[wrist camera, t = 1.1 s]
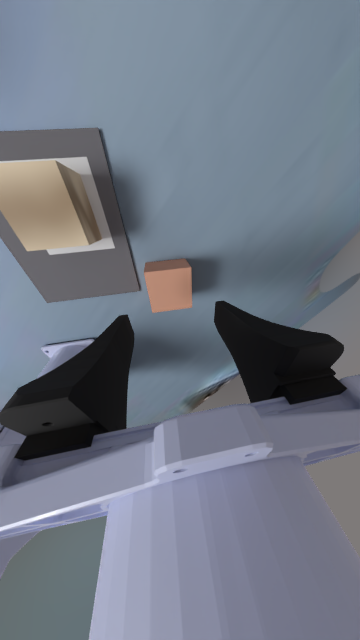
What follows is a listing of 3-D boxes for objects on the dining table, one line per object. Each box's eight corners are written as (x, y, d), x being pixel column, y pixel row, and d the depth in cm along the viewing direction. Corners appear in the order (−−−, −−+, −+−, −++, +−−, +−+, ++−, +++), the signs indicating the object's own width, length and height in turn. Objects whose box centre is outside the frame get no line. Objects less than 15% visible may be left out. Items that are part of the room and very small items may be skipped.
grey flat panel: (139, 290, 20) (139, 291, 20) (48, 302, 19) (46, 303, 19) (98, 128, 11) (97, 127, 11) (-71, 135, 10) (-75, 133, 10)
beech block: (102, 239, 16) (89, 245, 12) (53, 243, 15) (27, 251, 12) (79, 174, 13) (54, 160, 9) (18, 178, 12) (-30, 164, 9)
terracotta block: (186, 293, 21) (192, 307, 18) (152, 297, 21) (152, 312, 18) (184, 258, 18) (191, 267, 15) (145, 262, 18) (143, 272, 15)
